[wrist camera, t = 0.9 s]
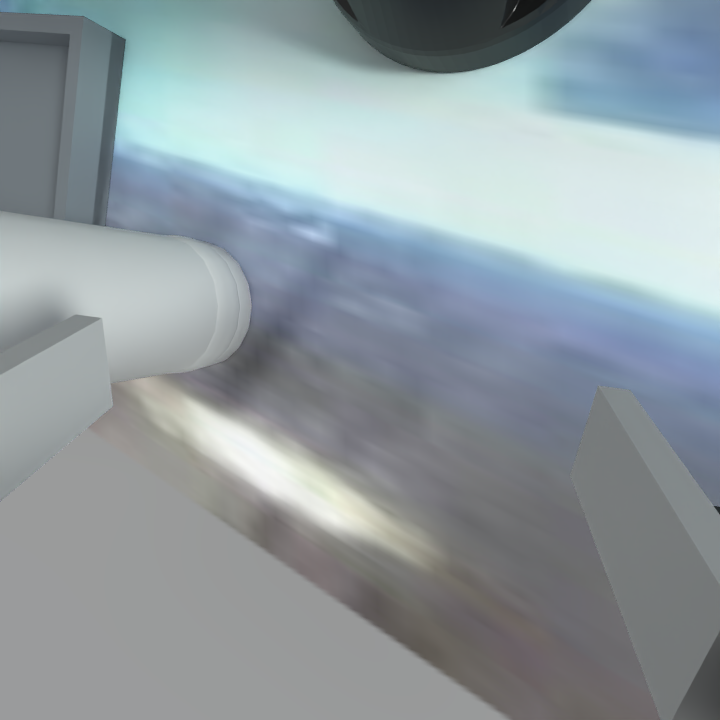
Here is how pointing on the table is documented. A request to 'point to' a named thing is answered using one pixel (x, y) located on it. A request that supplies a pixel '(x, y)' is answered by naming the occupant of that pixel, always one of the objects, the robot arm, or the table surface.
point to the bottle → (123, 292)
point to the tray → (57, 115)
